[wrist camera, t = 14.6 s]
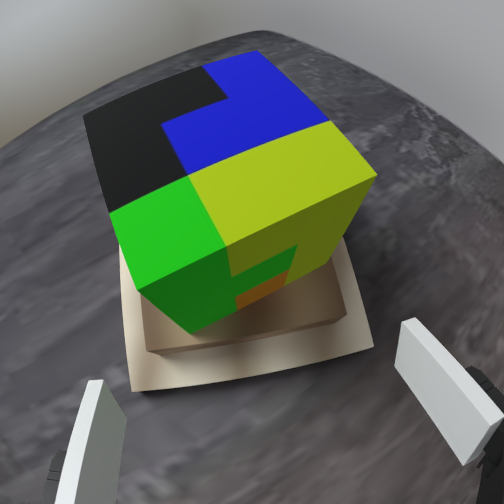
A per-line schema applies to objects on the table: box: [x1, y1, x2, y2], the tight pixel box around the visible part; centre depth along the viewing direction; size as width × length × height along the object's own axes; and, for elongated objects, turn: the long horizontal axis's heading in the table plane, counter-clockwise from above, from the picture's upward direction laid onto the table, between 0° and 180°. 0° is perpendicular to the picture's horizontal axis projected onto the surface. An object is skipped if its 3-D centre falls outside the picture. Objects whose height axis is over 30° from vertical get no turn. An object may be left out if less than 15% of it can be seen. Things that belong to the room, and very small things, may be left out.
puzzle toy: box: [83, 50, 377, 334], centre depth 17 cm, size 10×10×10 cm
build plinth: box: [119, 236, 374, 392], centre depth 24 cm, size 18×18×4 cm
